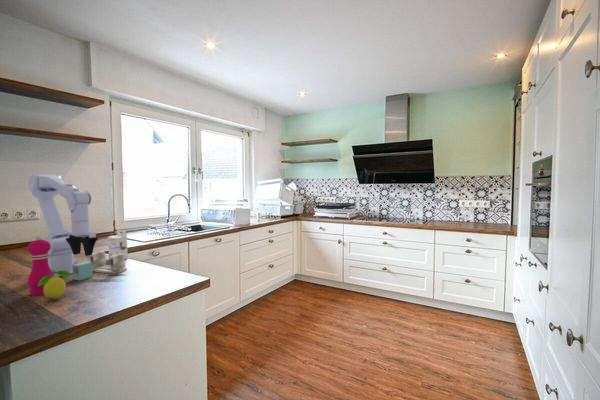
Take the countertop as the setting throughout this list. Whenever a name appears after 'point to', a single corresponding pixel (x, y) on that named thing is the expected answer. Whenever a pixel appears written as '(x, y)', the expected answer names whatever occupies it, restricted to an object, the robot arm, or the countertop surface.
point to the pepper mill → (38, 264)
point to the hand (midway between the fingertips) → (82, 254)
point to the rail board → (101, 266)
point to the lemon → (54, 284)
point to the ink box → (118, 244)
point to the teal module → (82, 270)
